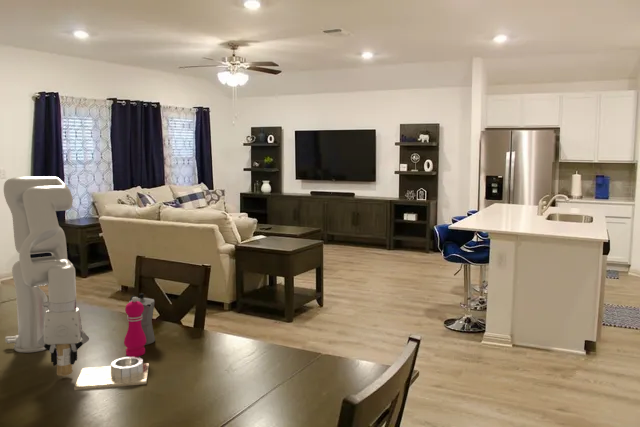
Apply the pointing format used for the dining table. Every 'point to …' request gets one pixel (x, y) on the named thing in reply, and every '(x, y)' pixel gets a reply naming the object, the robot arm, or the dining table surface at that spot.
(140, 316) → the pepper mill
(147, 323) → the coffeepot
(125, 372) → the white ring holder board
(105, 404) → the dining table surface
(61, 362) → the sprinkles bottle
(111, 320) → the dining table surface
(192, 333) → the dining table surface
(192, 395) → the dining table surface
